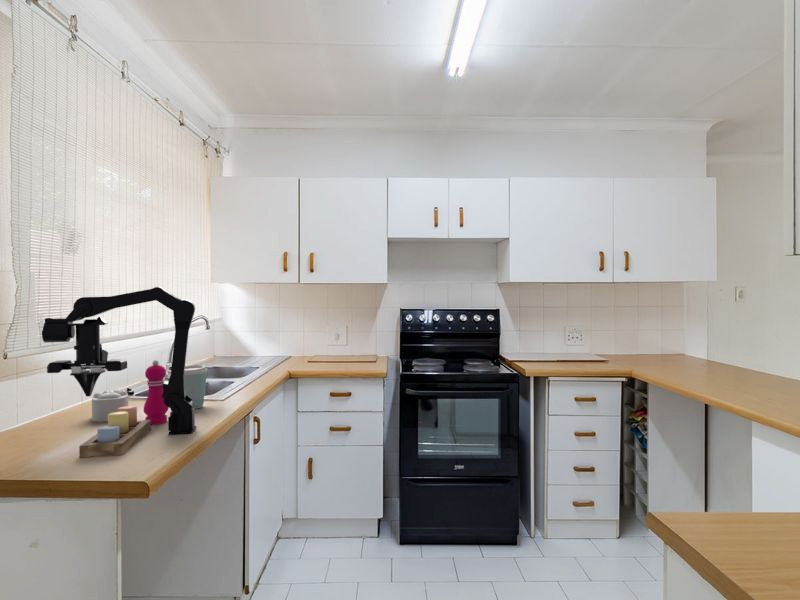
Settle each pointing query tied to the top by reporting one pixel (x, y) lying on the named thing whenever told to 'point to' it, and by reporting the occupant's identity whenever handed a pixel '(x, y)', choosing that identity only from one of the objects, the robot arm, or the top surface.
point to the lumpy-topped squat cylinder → (107, 403)
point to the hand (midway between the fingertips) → (88, 396)
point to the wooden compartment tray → (115, 448)
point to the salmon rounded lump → (130, 414)
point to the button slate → (108, 434)
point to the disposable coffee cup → (195, 383)
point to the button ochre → (119, 421)
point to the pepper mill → (155, 394)
